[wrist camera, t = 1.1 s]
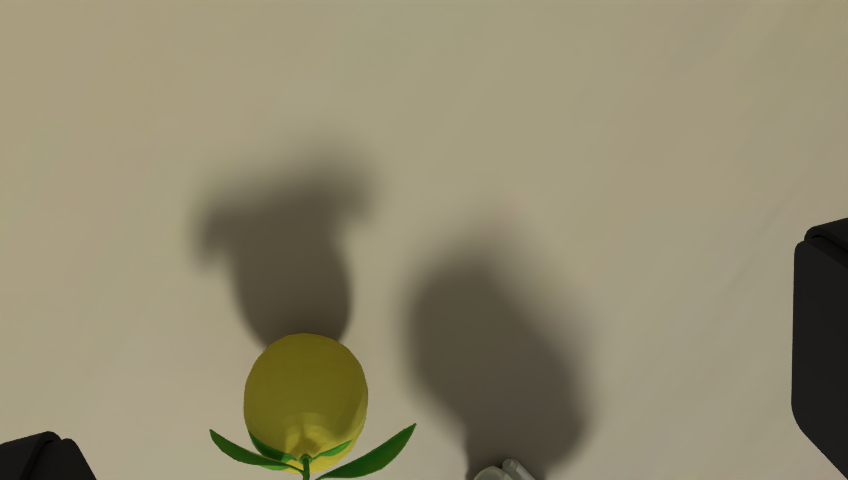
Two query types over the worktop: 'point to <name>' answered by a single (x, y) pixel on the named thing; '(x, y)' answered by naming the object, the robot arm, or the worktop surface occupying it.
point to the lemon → (308, 410)
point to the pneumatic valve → (505, 472)
